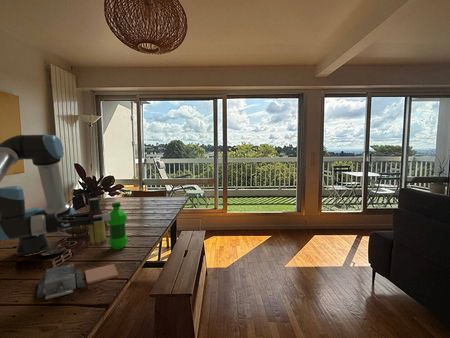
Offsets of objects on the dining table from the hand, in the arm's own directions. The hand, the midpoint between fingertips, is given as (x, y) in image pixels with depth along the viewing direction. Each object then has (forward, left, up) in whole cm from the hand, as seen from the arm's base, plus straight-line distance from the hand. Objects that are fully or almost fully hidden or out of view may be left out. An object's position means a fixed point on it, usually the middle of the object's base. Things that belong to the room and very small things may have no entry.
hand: (109, 215), depth 115 cm
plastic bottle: (-29, +8, -26) cm, 40 cm away
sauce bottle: (0, -5, -12) cm, 13 cm away
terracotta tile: (0, -4, -26) cm, 26 cm away
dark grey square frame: (+3, -19, -26) cm, 33 cm away
